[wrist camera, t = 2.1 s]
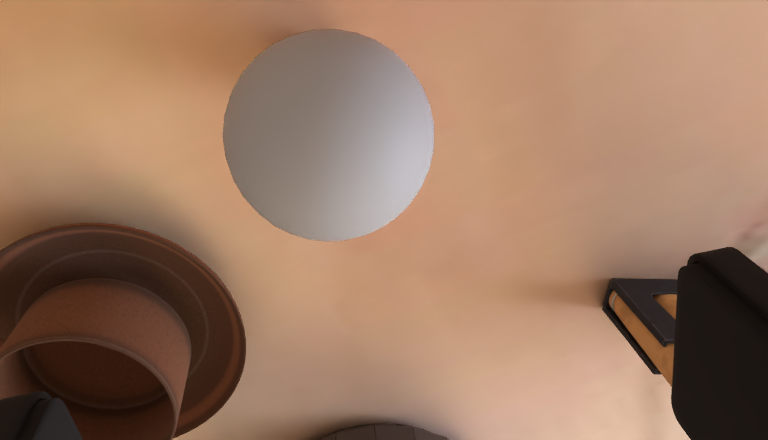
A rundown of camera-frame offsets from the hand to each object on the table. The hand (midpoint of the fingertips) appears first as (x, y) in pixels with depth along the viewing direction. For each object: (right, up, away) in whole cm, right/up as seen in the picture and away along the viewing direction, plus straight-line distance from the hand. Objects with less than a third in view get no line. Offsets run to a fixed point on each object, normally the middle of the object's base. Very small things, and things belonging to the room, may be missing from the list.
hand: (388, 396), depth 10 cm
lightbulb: (-3, +9, +16) cm, 19 cm away
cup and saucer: (-12, -2, +20) cm, 24 cm away
